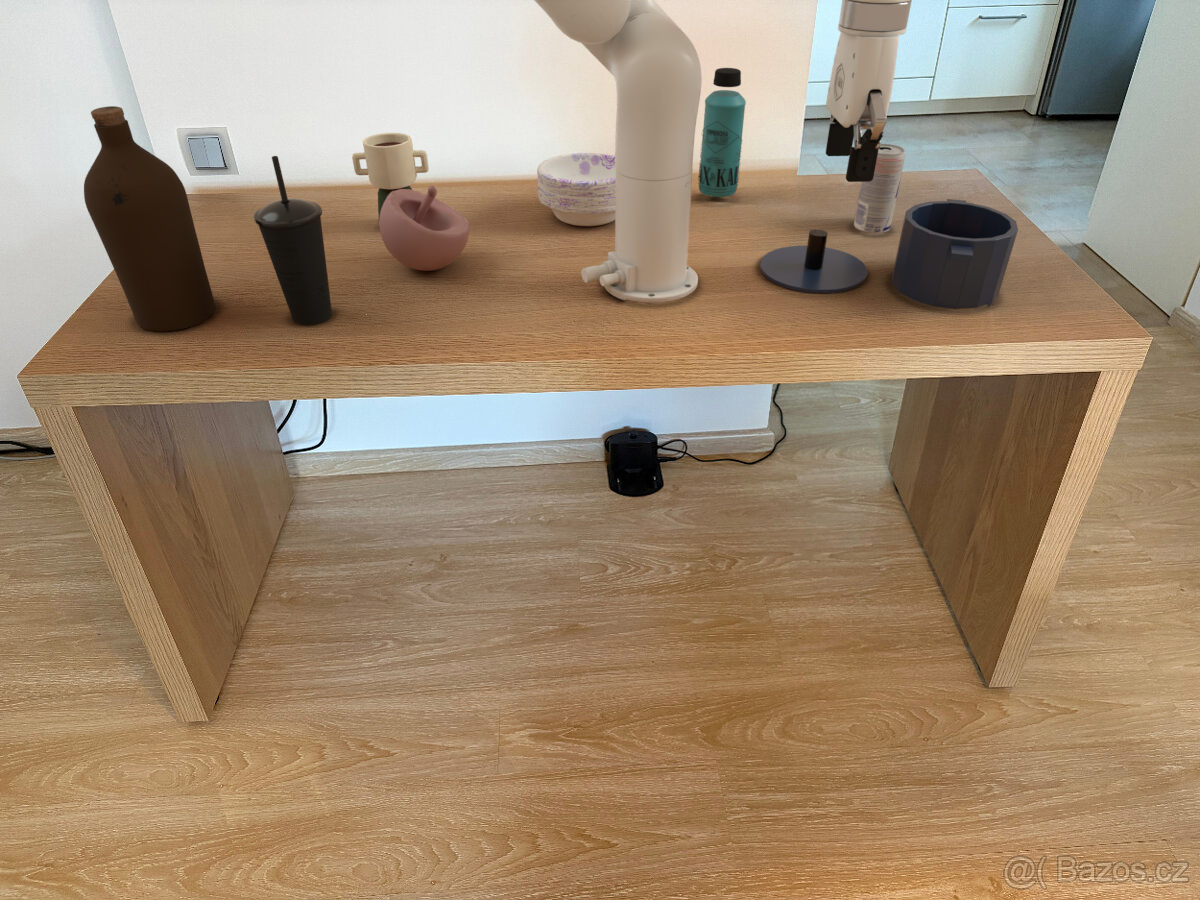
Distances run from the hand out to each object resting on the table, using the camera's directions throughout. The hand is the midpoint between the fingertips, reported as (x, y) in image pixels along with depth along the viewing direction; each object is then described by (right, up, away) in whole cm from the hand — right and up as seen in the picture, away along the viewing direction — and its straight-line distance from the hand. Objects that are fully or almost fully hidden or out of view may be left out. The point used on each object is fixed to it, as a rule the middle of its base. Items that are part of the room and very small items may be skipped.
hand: (847, 167), depth 106 cm
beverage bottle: (-12, +6, +33) cm, 35 cm away
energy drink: (+10, -2, +22) cm, 24 cm away
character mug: (-62, -1, +25) cm, 67 cm away
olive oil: (-85, -18, +2) cm, 87 cm away
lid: (-2, -11, +9) cm, 14 cm away
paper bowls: (-33, +1, +27) cm, 43 cm away
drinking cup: (-68, -19, +1) cm, 70 cm away
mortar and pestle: (-55, -10, +12) cm, 57 cm away
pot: (+14, -14, +5) cm, 21 cm away
